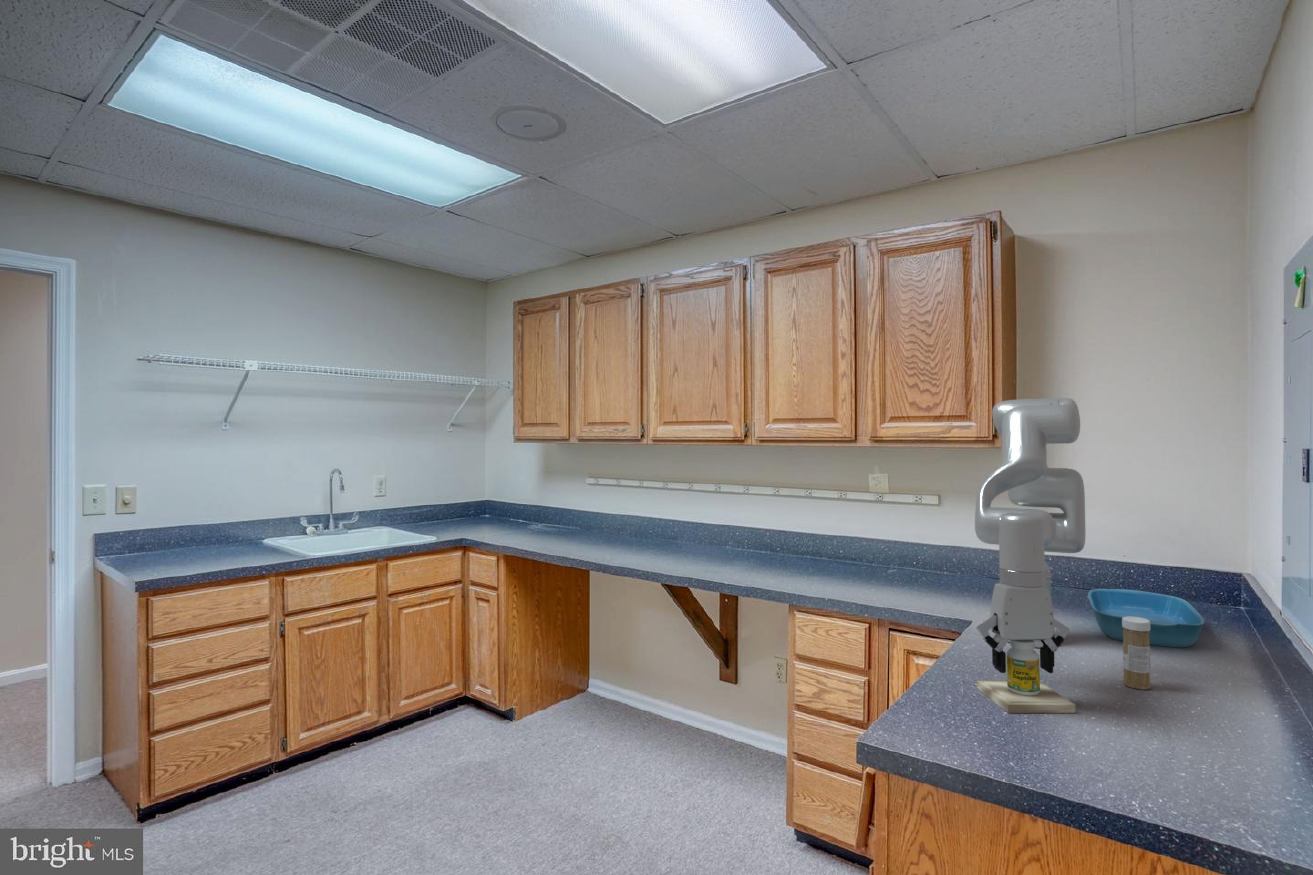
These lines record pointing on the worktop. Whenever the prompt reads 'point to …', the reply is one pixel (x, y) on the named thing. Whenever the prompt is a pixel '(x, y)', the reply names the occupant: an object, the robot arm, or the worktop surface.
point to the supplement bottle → (1023, 668)
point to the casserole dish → (1147, 615)
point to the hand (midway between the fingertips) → (1023, 670)
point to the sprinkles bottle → (1136, 652)
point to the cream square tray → (1025, 699)
